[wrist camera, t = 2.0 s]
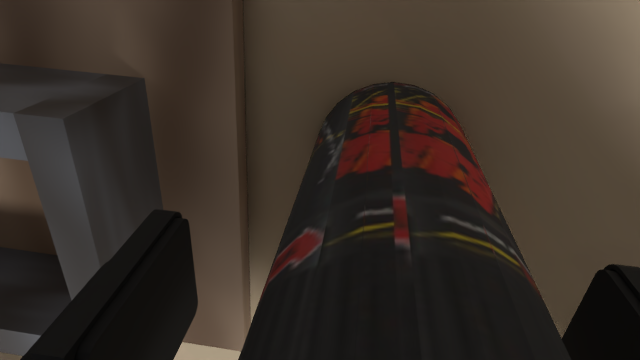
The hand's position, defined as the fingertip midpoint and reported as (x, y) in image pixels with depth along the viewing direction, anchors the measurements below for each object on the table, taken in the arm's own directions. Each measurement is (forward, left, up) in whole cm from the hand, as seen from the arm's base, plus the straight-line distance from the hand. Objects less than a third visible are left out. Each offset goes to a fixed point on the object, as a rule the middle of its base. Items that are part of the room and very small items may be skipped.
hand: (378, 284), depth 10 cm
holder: (+15, +3, -8) cm, 17 cm away
